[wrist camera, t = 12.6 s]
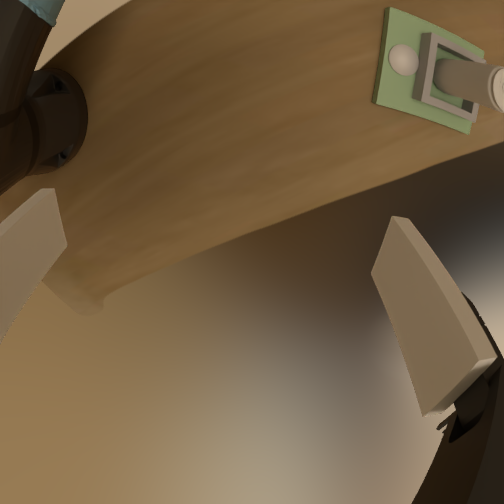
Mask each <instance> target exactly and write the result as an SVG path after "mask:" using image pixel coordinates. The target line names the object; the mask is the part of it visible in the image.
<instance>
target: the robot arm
mask: <svg viewBox="0 0 504 504" xmlns="http://www.w3.org/2000/svg"><path fill="white" fill-rule="evenodd" d="M64 1H65V0H0V195H1V194H3V193H4V192H5V191H7V190H8V189H9V188H10V187H12V186H13V185H14V184H16V183H17V182H18V181H20V180H21V179H22V178H24V177H25V176H31V175H37V174H43V173H49V172H52V171H54V170H56V169H58V168H60V167H61V166H63V165H64V164H66V163H67V162H69V161H70V160H71V159H72V158H73V157H74V156H75V155H76V153H77V152H78V150H79V149H80V147H81V145H82V143H83V140H84V137H85V134H86V129H87V106H86V101H85V98H84V95H83V92H82V90H81V88H80V86H79V85H78V83H77V82H76V81H75V79H74V78H73V77H72V76H70V75H69V74H68V73H66V72H64V71H62V70H59V69H55V68H48V69H42V70H37V71H34V69H35V67H36V64H37V61H38V59H39V56H40V54H41V51H42V49H43V47H44V44H45V42H46V40H47V37H48V35H49V33H50V31H51V29H52V27H54V26H55V25H56V18H57V16H58V14H59V12H60V10H61V8H62V6H63V3H64ZM66 247H67V242H66V238H65V234H64V230H63V226H62V222H61V217H60V213H59V208H58V203H57V198H56V193H55V188H47V189H40V190H39V191H38V192H36V193H35V194H34V195H33V196H31V197H30V198H29V199H28V200H27V201H25V202H24V203H23V204H22V205H21V206H20V207H18V208H17V209H16V210H15V211H14V212H13V213H12V214H10V215H9V216H8V217H7V218H6V219H5V220H4V221H3V222H2V223H1V224H0V343H1V342H2V340H3V338H4V336H5V335H6V333H7V331H8V330H9V328H10V326H11V325H12V323H13V322H14V320H15V318H16V316H17V315H18V314H19V312H20V311H21V309H22V307H23V306H24V304H25V303H26V301H27V300H28V298H29V297H30V296H31V294H32V293H33V291H34V290H35V288H36V287H37V286H38V284H39V283H40V281H41V280H42V279H43V277H44V276H45V274H46V273H47V272H48V270H49V269H50V268H51V266H52V265H53V264H54V262H55V261H56V260H57V259H58V257H59V256H60V255H61V253H62V252H63V251H64V250H65V248H66ZM371 275H372V277H373V279H374V282H375V284H376V287H377V289H378V291H379V294H380V296H381V299H382V301H383V303H384V306H385V308H386V311H387V313H388V316H389V318H390V321H391V324H392V326H393V329H394V332H395V334H396V337H397V339H398V342H399V345H400V348H401V351H402V353H403V356H404V359H405V362H406V365H407V368H408V371H409V374H410V377H411V380H412V383H413V386H414V390H415V393H416V396H417V399H418V403H419V406H420V409H421V413H422V416H423V417H427V416H431V415H436V414H441V413H443V412H444V411H445V410H446V409H447V408H448V407H449V406H450V405H451V404H453V403H454V405H455V408H456V411H454V412H453V413H452V414H451V415H450V416H449V417H447V418H446V419H445V420H444V421H443V422H441V423H440V424H439V425H438V427H437V430H440V429H441V428H442V427H444V426H445V425H446V424H447V427H446V429H445V430H444V431H443V432H442V433H444V436H443V438H442V441H441V443H440V445H439V448H438V450H437V452H436V455H435V457H434V460H433V462H432V464H431V466H430V468H429V470H428V473H427V475H426V477H425V479H424V481H423V483H422V485H421V487H420V489H419V491H418V493H417V495H416V496H415V498H414V500H413V502H412V504H504V358H503V356H502V354H501V352H500V350H499V349H498V347H497V345H496V343H495V341H494V339H493V337H492V336H491V334H490V332H489V330H488V328H487V327H486V326H485V325H484V324H485V323H484V321H483V320H482V318H481V316H479V313H478V311H477V309H476V308H475V306H474V305H473V303H472V302H471V301H470V300H469V299H468V298H467V297H466V296H465V295H464V294H463V293H462V292H460V290H459V289H458V287H457V285H456V284H455V282H454V281H453V279H452V278H451V276H450V275H449V273H448V272H447V270H446V269H445V267H444V266H443V264H442V263H441V262H440V260H439V259H438V257H437V256H436V254H435V253H434V252H433V251H432V249H431V248H430V246H429V245H428V244H427V242H426V241H425V240H424V238H423V237H422V235H421V234H420V233H419V232H418V230H417V229H416V228H415V227H414V225H413V224H412V223H411V221H410V220H409V219H408V218H401V217H396V216H392V217H391V220H390V223H389V226H388V229H387V232H386V235H385V237H384V240H383V243H382V246H381V248H380V251H379V254H378V257H377V259H376V262H375V264H374V267H373V269H372V272H371Z"/></svg>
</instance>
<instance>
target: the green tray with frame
mask: <svg viewBox="0 0 504 504" xmlns="http://www.w3.org/2000/svg"><path fill="white" fill-rule="evenodd" d="M483 57H484V51H483V50H481V49H480V48H478V47H476V46H474V45H473V44H471V43H469V42H467V41H466V40H464V39H462V38H460V37H458V36H456V35H454V34H452V33H450V32H448V31H446V30H444V29H442V28H440V27H438V26H436V25H434V24H432V23H429V22H427V21H425V20H423V19H420V18H418V17H416V16H413V15H411V14H408V13H406V12H403V11H400V10H398V9H395V8H392V7H388V8H385V16H384V25H383V33H382V41H381V49H380V56H379V63H378V69H377V75H376V81H375V87H374V93H373V99H372V102H373V103H375V104H378V105H382V106H386V107H389V108H393V109H396V110H400V111H403V112H406V113H410V114H413V115H416V116H419V117H422V118H425V119H428V120H431V121H434V122H437V123H439V124H442V125H445V126H447V127H450V128H453V129H455V130H458V131H460V132H463V133H465V134H468V135H469V133H470V129H471V124H472V122H474V123H475V122H476V118H477V113H478V108H479V104H477V103H474V102H471V101H468V100H465V99H462V98H458V97H455V96H452V95H448V94H445V93H443V92H442V91H441V90H439V89H438V87H437V86H436V84H435V83H434V79H433V73H434V67H435V64H436V62H437V61H439V60H440V59H454V60H464V61H472V62H479V63H485V64H486V60H484V59H483Z"/></svg>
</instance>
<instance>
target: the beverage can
mask: <svg viewBox="0 0 504 504" xmlns="http://www.w3.org/2000/svg"><path fill="white" fill-rule="evenodd" d="M433 79H434V83H435V84H436V86H437V87H438V89H439V90H441V91H442V92H443V93H445V94H448V95H452V96H455V97H458V98H462V99H465V100H468V101H471V102H474V103H477V104H480V105H483V106H486V107H488V108H491V109H494V110H496V111H499V112H502V113H504V67H502V66H497V65H492V64H485V63H479V62H472V61H464V60H454V59H440V60H439V61H437V62H436V64H435V67H434V73H433Z"/></svg>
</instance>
